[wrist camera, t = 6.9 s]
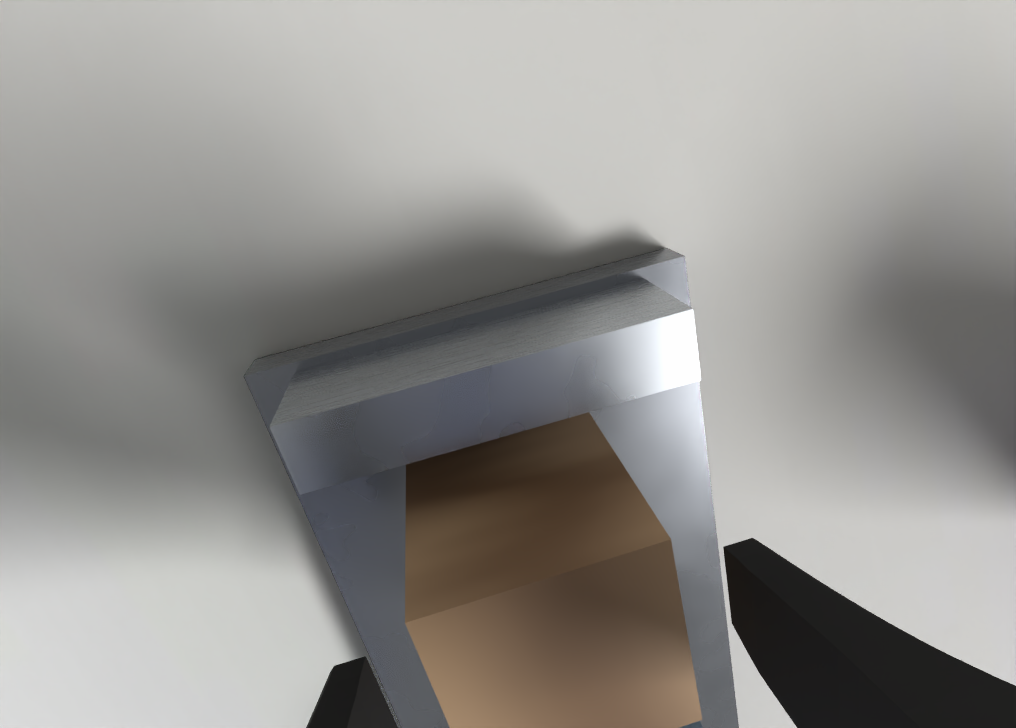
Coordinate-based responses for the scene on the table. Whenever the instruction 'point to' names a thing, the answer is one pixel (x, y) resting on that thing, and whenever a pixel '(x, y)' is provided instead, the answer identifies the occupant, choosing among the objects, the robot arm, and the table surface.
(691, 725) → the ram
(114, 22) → the table surface
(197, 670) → the table surface
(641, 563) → the brown block
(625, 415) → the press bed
